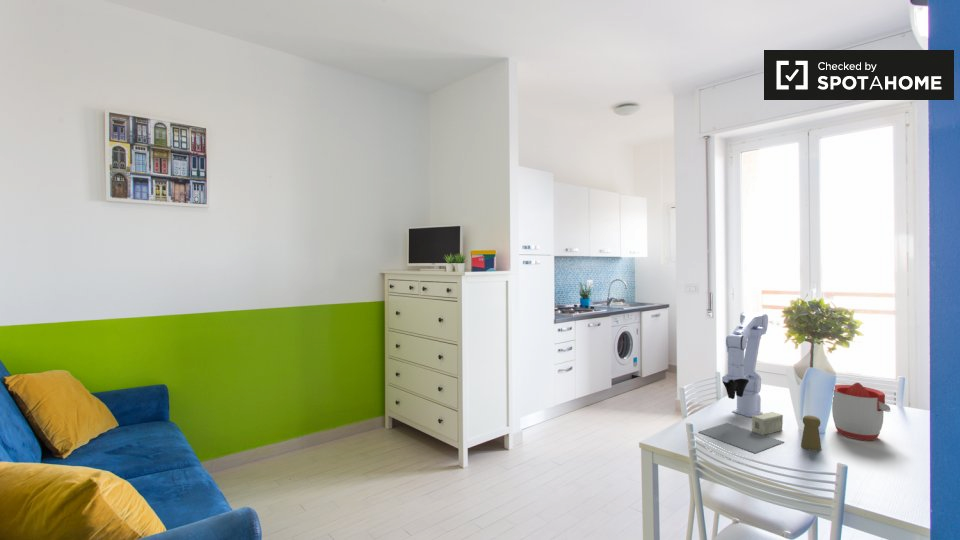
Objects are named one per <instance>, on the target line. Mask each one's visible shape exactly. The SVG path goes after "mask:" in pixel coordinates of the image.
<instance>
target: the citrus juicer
mask: <svg viewBox="0 0 960 540" xmlns="http://www.w3.org/2000/svg"><path fill="white" fill-rule="evenodd" d="M834 386H835V390H834V397H833V402H831V405H832V407H831V409H832V410H831V413H832V419H833V422H834V426H835V429H836V430H837V433H839V434H840V435H842V436H846V437H847V438H852V439H856V440H860V439H861V440H860V441H864V440H867V441H874V440H876V439H877V438H878V437H879V435H880V433H881V431H882V427H883V424H884V412H887V413H890V412H891V408H890V407H891V406H890V405H888V404H887V403H886V402H885V401H886V393H884V392H883V391H880V390H879V389H875V388H871V387H866V386H863V385H862V384H861V383H859V382H855V383H853V384H836V385H834Z"/></svg>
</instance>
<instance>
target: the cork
mask: <svg viewBox="0 0 960 540" xmlns="http://www.w3.org/2000/svg"><path fill="white" fill-rule="evenodd" d="M802 423H803V425H804V426H803V432H802V436H801V437H802V438H801V442H800V447H802V448H804V449H805V448H806V450H809V449H810V450H809V451H814V450H819V451H821V450H822V444H821V443H822V442H821V436H820V435H821V434H820V428H819V427H820V426H821V420H820V418H819V417H817V416H815V415H804V416H803V418H802Z"/></svg>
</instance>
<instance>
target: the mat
mask: <svg viewBox="0 0 960 540" xmlns="http://www.w3.org/2000/svg"><path fill="white" fill-rule="evenodd" d="M698 433H699V434H701V435H704V436H707V437H709V438H712V439H715V440H717V441H720V442H722V443H726V444H728V445H730V446H733V447H736V448H739V449H742V450H744V451H747V452H749V453H752V454H754V455H755V454H758V453H761V452H763V451H766V450H768V449H771V448H773V447H775V446H779V445H781V443H782V444H783V443H785V441H783V440H781V439H777V438H774V437H772V436H769V435H766V434H764V435H761V434H758V433H755V432H752V430H750V429H747V428H744V427H741V426H738V425H735V424H733V423H729V422H725V423H722V424H719V425H715V426H712V427H710V428H706V429H702V430H699V431H698Z"/></svg>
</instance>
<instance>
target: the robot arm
mask: <svg viewBox="0 0 960 540" xmlns="http://www.w3.org/2000/svg"><path fill="white" fill-rule="evenodd" d="M739 323H740V325H737V326H736V327H735V328H734V330H733V332H732V333H729V334H727V336H726V337H725V345H726V346H725V347H726V352H727V373H726V374H725V375H724V376H722V377H721V379H722V380H721V381H722V384H723V385H724V387H725V390H726V393H727V397H728V398H729V399H731V400H735V396H736V409H734V410H733V409H732V413H735V414H737V415H738V414H739V415H741V416H745V417H749V418H752V416H755V415H760V414H764V413H763V411H761V406H762V404H761V401H762V399H761V395H760V394H759V393H760V392H761V389H762V378H761V375H759V373H757V372H756V366H757V359H758V354H759V347H760V342H761V339H762V336H763V335H765V334H766V333H767V329H768V325H769V316H768V314H767V313H766V312H764V313H763V312H762V313H761V312H750V311H748V312H747V311H742V312H741V313H740V315H739Z"/></svg>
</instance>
